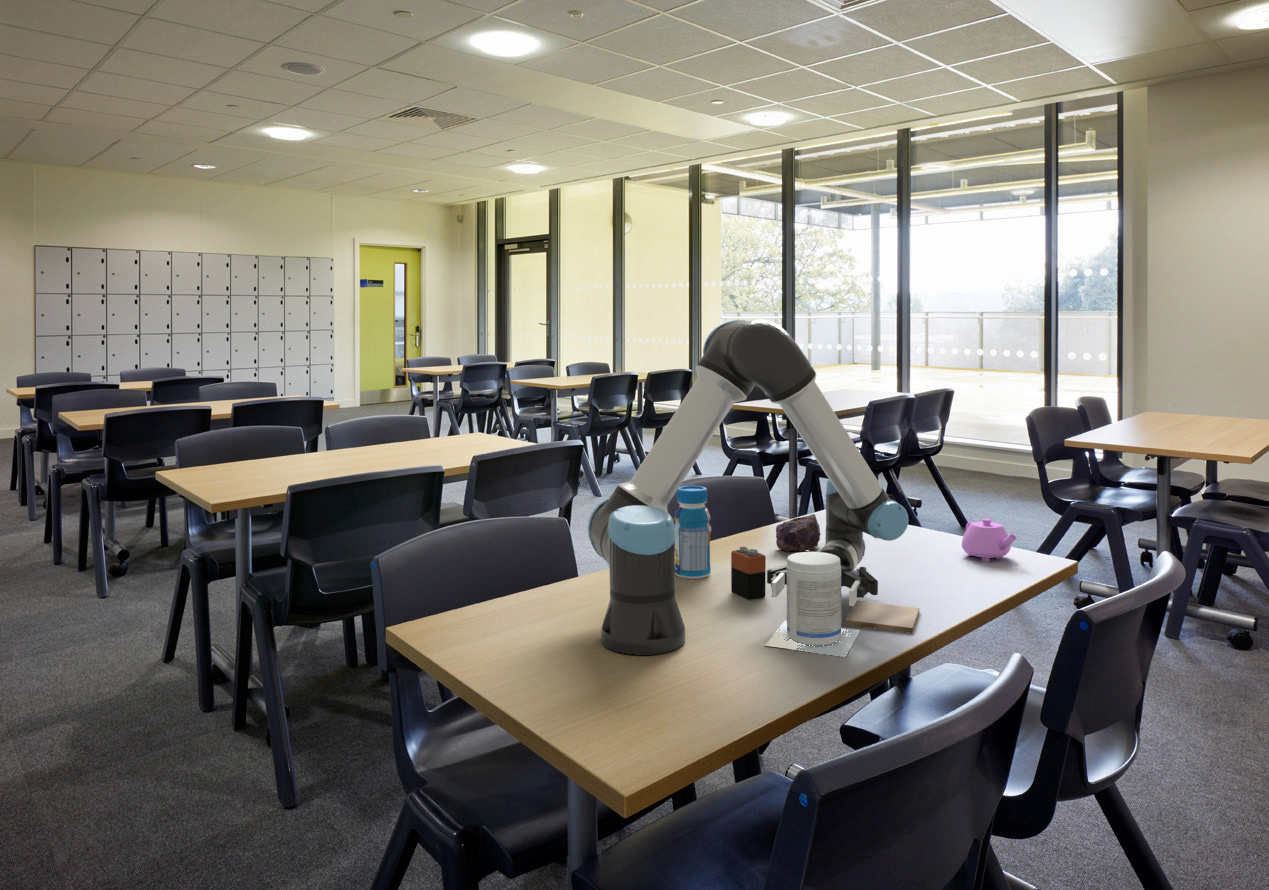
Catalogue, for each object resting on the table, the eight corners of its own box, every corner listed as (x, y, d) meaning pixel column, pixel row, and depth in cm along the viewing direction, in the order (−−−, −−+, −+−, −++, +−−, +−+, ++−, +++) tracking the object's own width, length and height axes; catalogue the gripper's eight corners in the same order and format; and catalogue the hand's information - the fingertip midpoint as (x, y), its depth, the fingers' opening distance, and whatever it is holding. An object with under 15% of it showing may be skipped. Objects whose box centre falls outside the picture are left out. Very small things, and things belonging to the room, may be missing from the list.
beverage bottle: (691, 582, 187) (690, 493, 185) (666, 574, 194) (665, 488, 191) (719, 575, 192) (718, 488, 190) (693, 567, 199) (692, 483, 196)
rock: (773, 552, 216) (794, 561, 207) (768, 520, 215) (789, 527, 205) (813, 540, 220) (835, 548, 210) (808, 508, 218) (830, 515, 209)
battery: (749, 601, 174) (749, 553, 172) (730, 592, 180) (730, 546, 178) (766, 597, 176) (766, 550, 174) (747, 589, 182) (747, 543, 180)
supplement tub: (852, 639, 151) (853, 559, 149) (814, 651, 146) (814, 568, 144) (812, 624, 159) (813, 548, 157) (775, 635, 154) (775, 556, 152)
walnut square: (845, 625, 159) (845, 619, 159) (856, 605, 170) (856, 600, 169) (912, 633, 154) (912, 628, 154) (919, 612, 165) (919, 607, 165)
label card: (764, 646, 149) (764, 645, 149) (784, 621, 161) (784, 620, 161) (845, 657, 143) (845, 657, 143) (859, 630, 156) (859, 629, 156)
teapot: (980, 548, 212) (982, 511, 210) (1030, 563, 198) (1031, 523, 197) (948, 553, 208) (949, 516, 206) (996, 568, 194) (998, 528, 193)
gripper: (900, 588, 163) (884, 623, 144) (772, 575, 174) (743, 606, 154) (901, 550, 162) (886, 580, 143) (773, 539, 173) (743, 566, 153)
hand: (811, 594), depth 149 cm, fingers open, 13 cm apart
